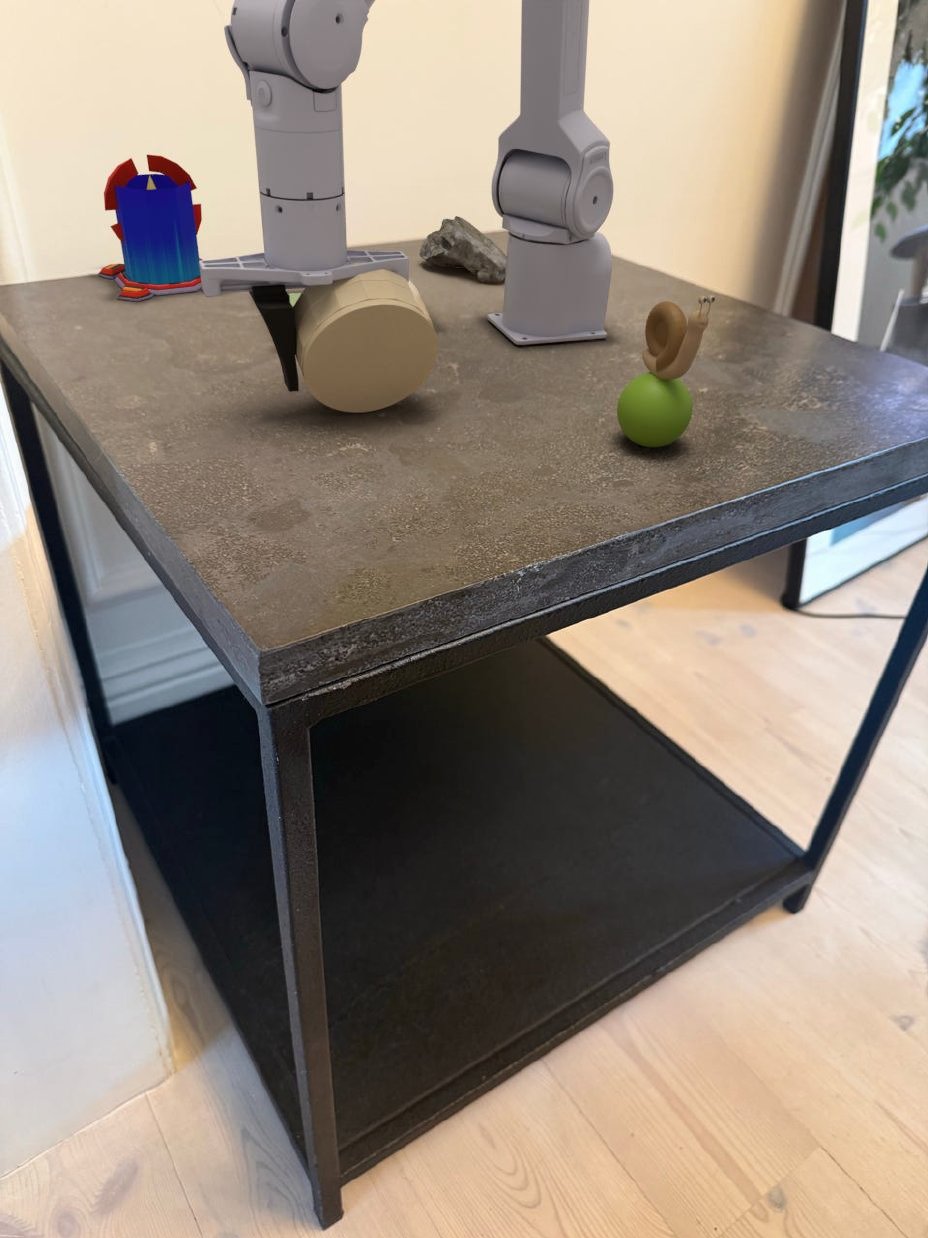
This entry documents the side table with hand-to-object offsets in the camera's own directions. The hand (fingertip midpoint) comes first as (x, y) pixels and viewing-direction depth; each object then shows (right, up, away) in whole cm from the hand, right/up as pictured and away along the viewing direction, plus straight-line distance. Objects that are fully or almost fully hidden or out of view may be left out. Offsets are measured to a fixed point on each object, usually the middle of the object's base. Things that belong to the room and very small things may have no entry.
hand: (313, 384), depth 70 cm
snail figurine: (+26, -5, -1) cm, 26 cm away
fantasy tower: (-20, +18, +27) cm, 38 cm away
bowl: (+5, +1, -3) cm, 6 cm away
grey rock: (+12, +22, +35) cm, 43 cm away
